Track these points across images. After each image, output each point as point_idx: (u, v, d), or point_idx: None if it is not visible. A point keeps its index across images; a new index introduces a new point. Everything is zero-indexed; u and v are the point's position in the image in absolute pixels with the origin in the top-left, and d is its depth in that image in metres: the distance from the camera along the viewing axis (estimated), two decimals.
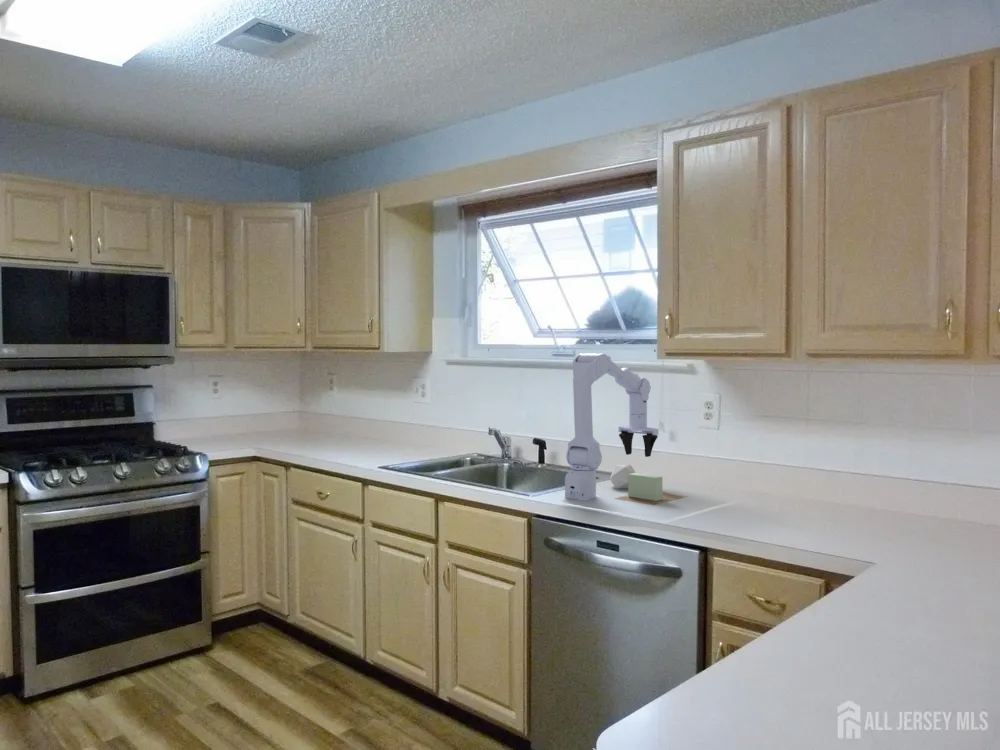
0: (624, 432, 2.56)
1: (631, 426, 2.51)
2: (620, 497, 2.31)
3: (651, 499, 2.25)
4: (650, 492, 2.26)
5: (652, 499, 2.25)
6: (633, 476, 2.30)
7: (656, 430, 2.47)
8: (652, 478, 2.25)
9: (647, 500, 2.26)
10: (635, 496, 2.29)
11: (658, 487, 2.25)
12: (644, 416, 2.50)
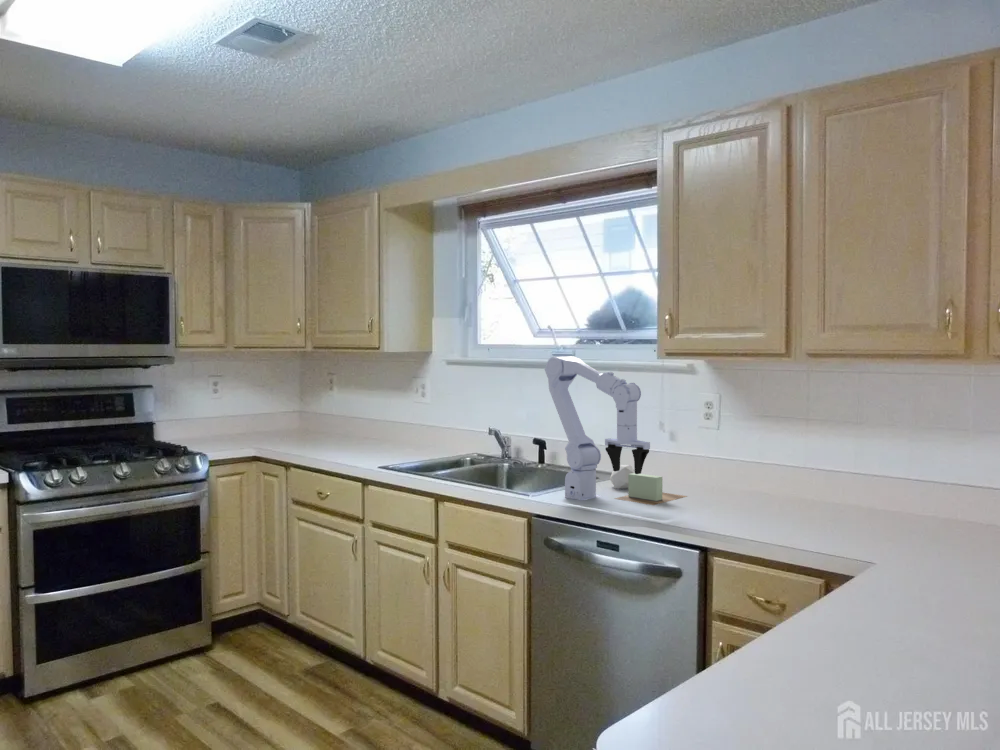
0: (611, 446, 2.25)
1: (619, 439, 2.20)
2: (620, 497, 2.31)
3: (651, 499, 2.25)
4: (650, 492, 2.26)
5: (652, 499, 2.25)
6: (633, 476, 2.30)
7: (647, 444, 2.16)
8: (652, 478, 2.25)
9: (647, 500, 2.26)
10: (635, 496, 2.29)
11: (658, 487, 2.25)
12: (634, 428, 2.19)
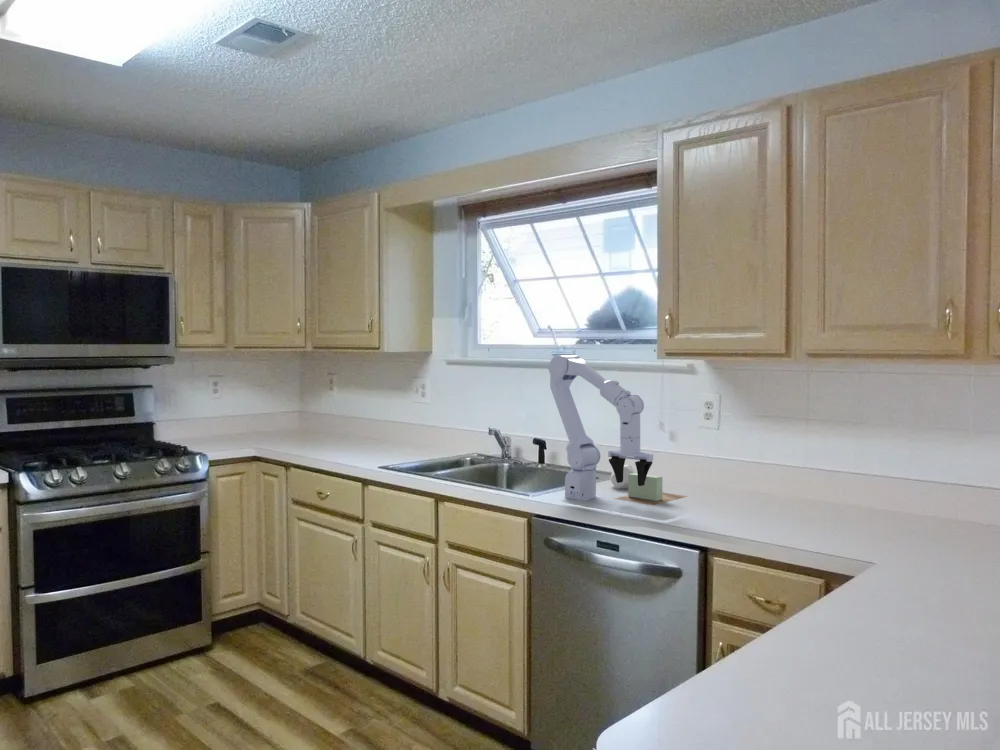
0: (615, 457, 2.26)
1: (622, 451, 2.21)
2: (620, 497, 2.31)
3: (651, 499, 2.25)
4: (650, 492, 2.26)
5: (652, 499, 2.25)
6: (633, 476, 2.30)
7: (650, 456, 2.18)
8: (652, 478, 2.25)
9: (647, 500, 2.26)
10: (635, 496, 2.29)
11: (658, 487, 2.25)
12: (637, 440, 2.21)
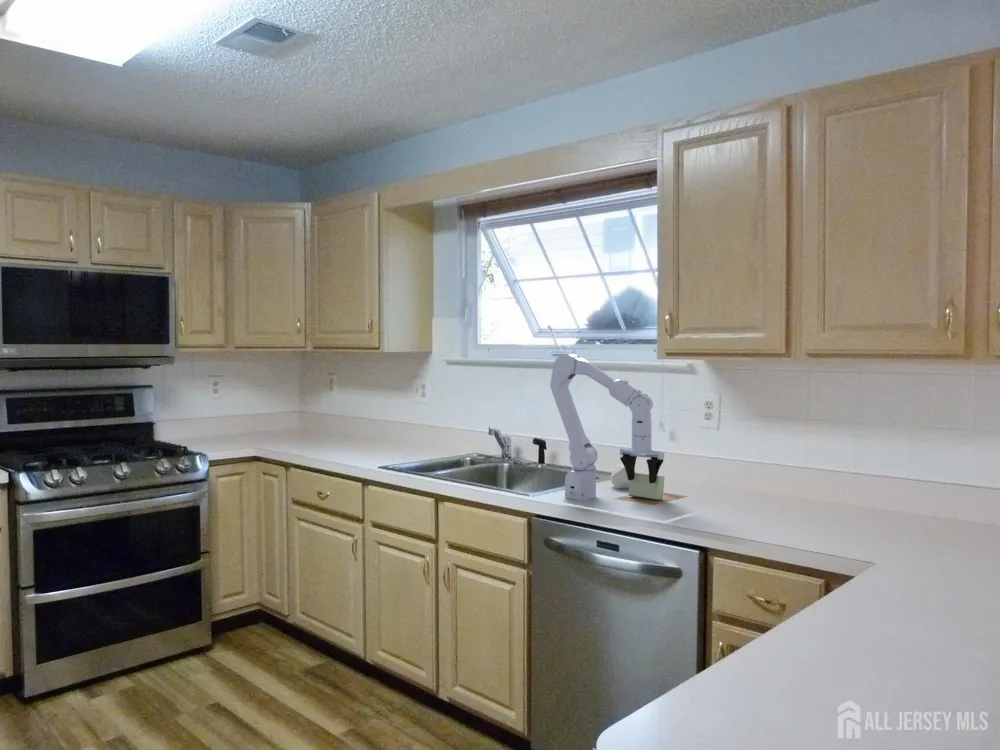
0: (626, 455, 2.30)
1: (634, 449, 2.25)
2: (620, 497, 2.31)
3: (651, 497, 2.25)
4: (651, 490, 2.26)
5: (652, 497, 2.25)
6: (635, 474, 2.30)
7: (662, 454, 2.22)
8: None
9: (647, 500, 2.26)
10: (635, 494, 2.29)
11: (659, 486, 2.25)
12: (648, 438, 2.24)
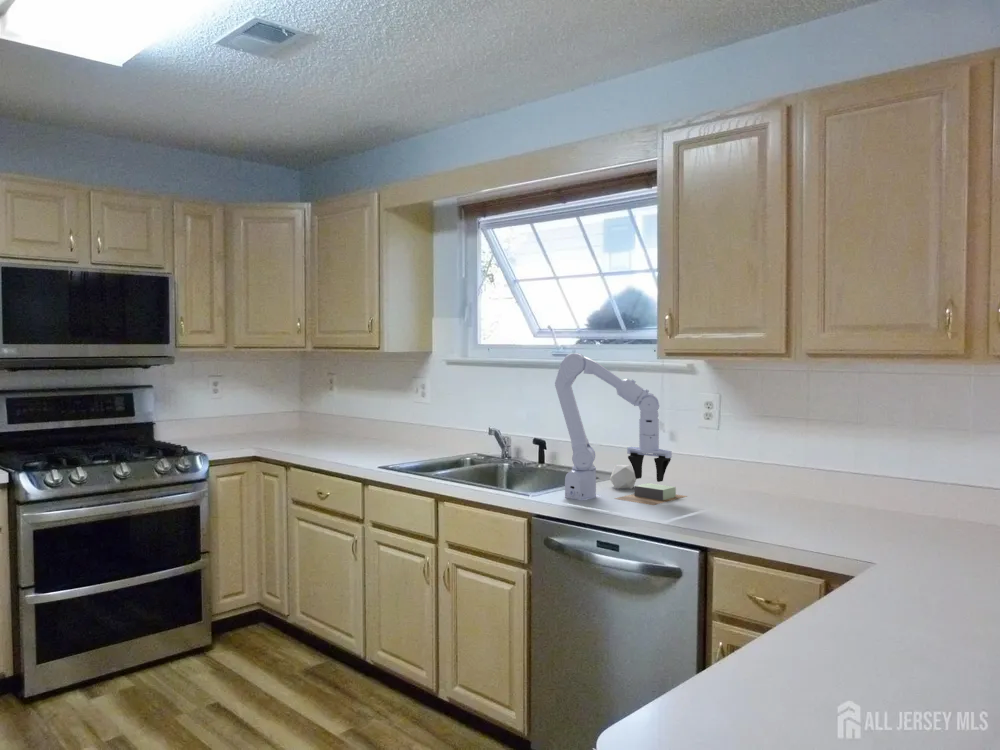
0: (633, 454, 2.32)
1: (641, 448, 2.28)
2: (620, 497, 2.31)
3: (658, 489, 2.28)
4: (660, 488, 2.29)
5: (659, 489, 2.27)
6: (651, 484, 2.36)
7: (669, 453, 2.24)
8: (671, 486, 2.32)
9: (647, 500, 2.26)
10: (642, 486, 2.32)
11: (670, 491, 2.29)
12: (656, 437, 2.27)
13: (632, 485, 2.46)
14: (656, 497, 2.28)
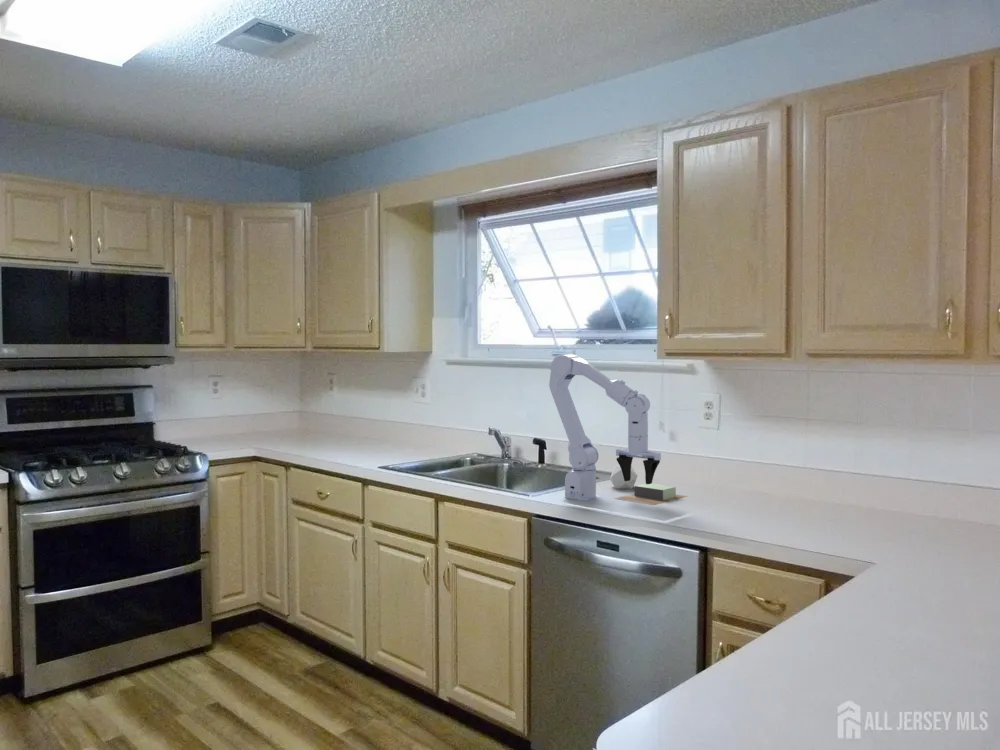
0: (622, 456, 2.28)
1: (630, 450, 2.24)
2: (620, 497, 2.31)
3: (658, 489, 2.28)
4: (660, 488, 2.29)
5: (659, 489, 2.27)
6: (651, 484, 2.36)
7: (658, 455, 2.20)
8: (671, 486, 2.32)
9: (647, 500, 2.26)
10: (642, 486, 2.32)
11: (670, 491, 2.29)
12: (645, 439, 2.23)
13: (632, 485, 2.46)
14: (656, 497, 2.28)
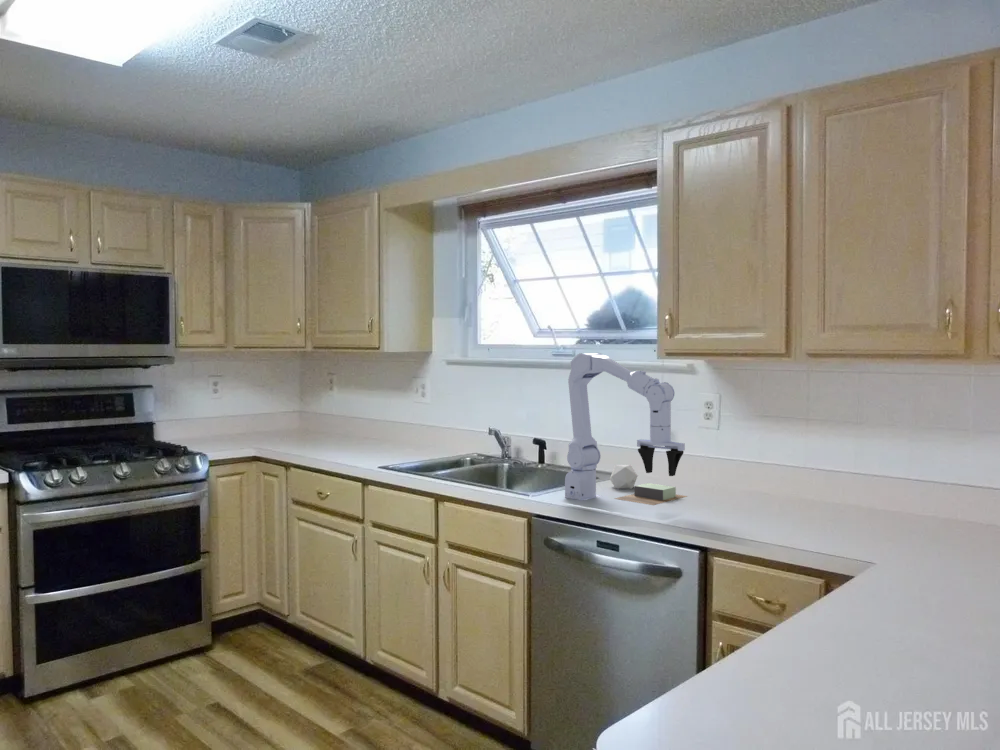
0: (644, 447, 2.19)
1: (652, 440, 2.15)
2: (620, 497, 2.31)
3: (658, 489, 2.28)
4: (660, 488, 2.29)
5: (659, 489, 2.27)
6: (651, 484, 2.36)
7: (682, 445, 2.11)
8: (671, 486, 2.32)
9: (647, 500, 2.26)
10: (642, 486, 2.32)
11: (670, 491, 2.29)
12: (668, 428, 2.14)
13: (632, 485, 2.46)
14: (656, 497, 2.28)
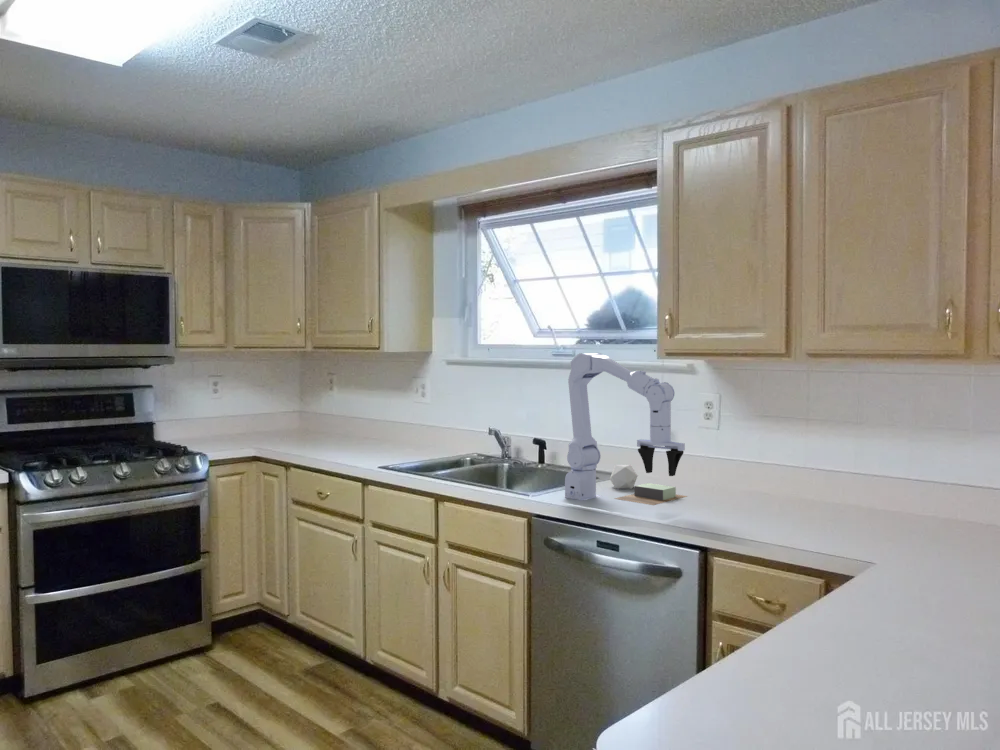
0: (644, 447, 2.19)
1: (652, 440, 2.15)
2: (620, 497, 2.31)
3: (658, 489, 2.28)
4: (660, 488, 2.29)
5: (659, 489, 2.27)
6: (651, 484, 2.36)
7: (682, 445, 2.11)
8: (671, 486, 2.32)
9: (647, 500, 2.26)
10: (642, 486, 2.32)
11: (670, 491, 2.29)
12: (668, 428, 2.14)
13: (632, 485, 2.46)
14: (656, 497, 2.28)
